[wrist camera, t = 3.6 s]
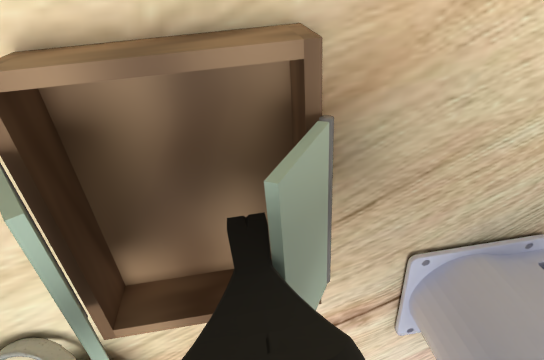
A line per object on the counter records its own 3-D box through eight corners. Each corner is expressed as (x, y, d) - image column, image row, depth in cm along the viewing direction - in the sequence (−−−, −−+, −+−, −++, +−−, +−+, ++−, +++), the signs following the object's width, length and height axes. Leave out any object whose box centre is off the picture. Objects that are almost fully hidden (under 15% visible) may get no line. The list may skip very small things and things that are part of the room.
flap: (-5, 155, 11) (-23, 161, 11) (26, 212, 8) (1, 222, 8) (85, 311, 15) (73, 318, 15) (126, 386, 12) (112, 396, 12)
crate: (300, 23, 14) (322, 37, 11) (306, 257, 21) (321, 303, 18) (13, 52, 13) (-45, 75, 10) (120, 286, 20) (104, 340, 17)
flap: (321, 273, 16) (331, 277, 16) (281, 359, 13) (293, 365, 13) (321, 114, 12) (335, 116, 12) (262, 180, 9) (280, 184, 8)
